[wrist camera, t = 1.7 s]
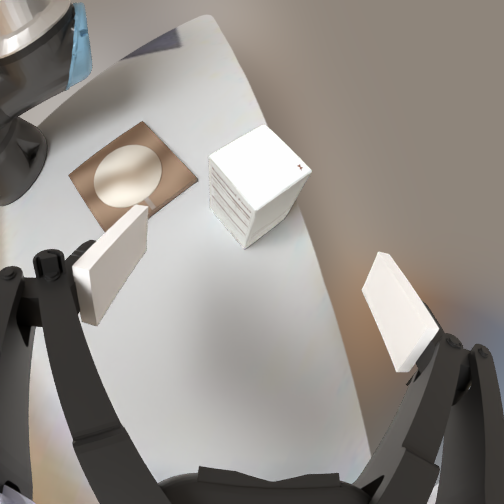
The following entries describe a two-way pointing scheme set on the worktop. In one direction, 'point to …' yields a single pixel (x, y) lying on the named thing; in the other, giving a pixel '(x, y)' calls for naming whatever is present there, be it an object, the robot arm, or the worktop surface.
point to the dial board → (131, 176)
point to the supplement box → (254, 183)
